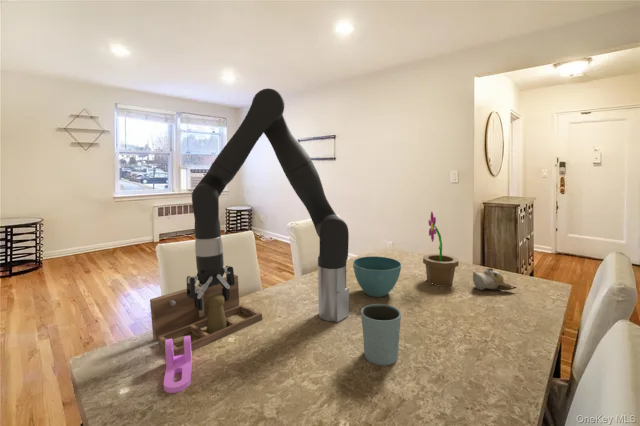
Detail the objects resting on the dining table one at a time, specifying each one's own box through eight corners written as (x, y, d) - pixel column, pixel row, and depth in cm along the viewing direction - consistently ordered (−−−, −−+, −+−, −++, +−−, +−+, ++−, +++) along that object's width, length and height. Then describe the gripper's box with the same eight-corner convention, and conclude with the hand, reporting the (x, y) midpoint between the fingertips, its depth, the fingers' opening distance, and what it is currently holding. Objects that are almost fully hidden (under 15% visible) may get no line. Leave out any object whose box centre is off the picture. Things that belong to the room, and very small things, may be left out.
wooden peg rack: (262, 319, 104) (260, 284, 102) (176, 358, 83) (173, 314, 82) (236, 307, 114) (234, 274, 112) (153, 339, 93) (149, 299, 91)
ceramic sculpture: (467, 264, 132) (502, 265, 133) (464, 284, 134) (499, 285, 135) (481, 272, 122) (519, 273, 123) (478, 294, 123) (516, 295, 124)
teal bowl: (406, 290, 128) (407, 260, 126) (390, 306, 113) (391, 272, 111) (364, 282, 138) (365, 254, 136) (344, 296, 123) (344, 265, 121)
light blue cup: (392, 372, 77) (393, 324, 75) (353, 359, 82) (354, 314, 80) (405, 351, 85) (406, 308, 84) (369, 341, 90) (370, 300, 89)
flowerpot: (418, 275, 145) (421, 209, 141) (451, 276, 143) (455, 209, 139) (426, 287, 131) (428, 214, 127) (462, 288, 129) (466, 214, 125)
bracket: (168, 362, 82) (166, 336, 81) (192, 358, 83) (190, 332, 83) (162, 396, 70) (160, 366, 69) (190, 389, 71) (188, 360, 70)
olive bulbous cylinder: (220, 335, 94) (218, 299, 93) (202, 333, 96) (200, 297, 94) (231, 326, 100) (229, 292, 99) (214, 323, 102) (212, 290, 100)
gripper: (192, 259, 86) (197, 317, 88) (237, 249, 97) (240, 300, 99) (179, 255, 91) (184, 309, 93) (223, 245, 102) (226, 294, 104)
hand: (213, 304), depth 96 cm, fingers open, 8 cm apart
